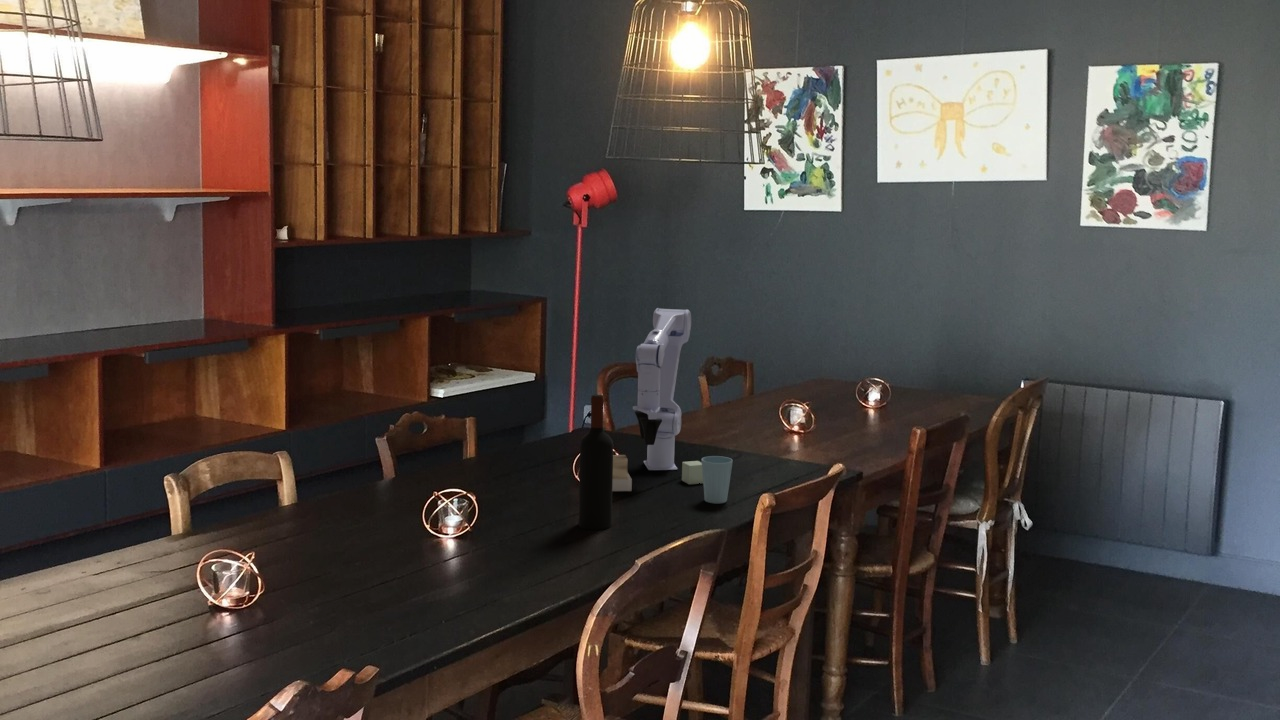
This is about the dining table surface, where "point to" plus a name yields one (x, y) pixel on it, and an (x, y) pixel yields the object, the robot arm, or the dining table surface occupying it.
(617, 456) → the oak block
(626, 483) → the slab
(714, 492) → the cup
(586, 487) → the wine bottle
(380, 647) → the dining table surface
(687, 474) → the sage block
